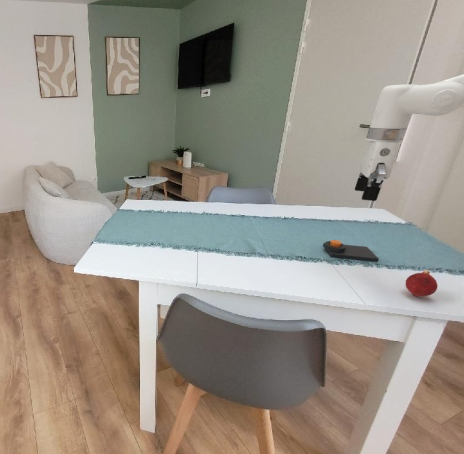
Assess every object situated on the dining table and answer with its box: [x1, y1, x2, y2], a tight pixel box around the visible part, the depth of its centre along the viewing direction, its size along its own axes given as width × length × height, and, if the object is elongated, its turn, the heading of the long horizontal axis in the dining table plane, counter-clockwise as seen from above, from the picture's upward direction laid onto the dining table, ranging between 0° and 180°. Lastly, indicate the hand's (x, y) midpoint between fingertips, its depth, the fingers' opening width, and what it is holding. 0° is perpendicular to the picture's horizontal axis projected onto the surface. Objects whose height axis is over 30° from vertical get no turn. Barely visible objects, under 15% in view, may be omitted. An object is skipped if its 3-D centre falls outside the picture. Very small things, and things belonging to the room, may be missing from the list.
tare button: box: [330, 239, 342, 247], centre depth 102 cm, size 3×3×2 cm
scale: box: [322, 240, 379, 263], centre depth 102 cm, size 14×9×3 cm, turn 70°
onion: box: [404, 269, 438, 298], centre depth 78 cm, size 6×6×8 cm
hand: (364, 195), depth 86 cm, fingers open, 9 cm apart
